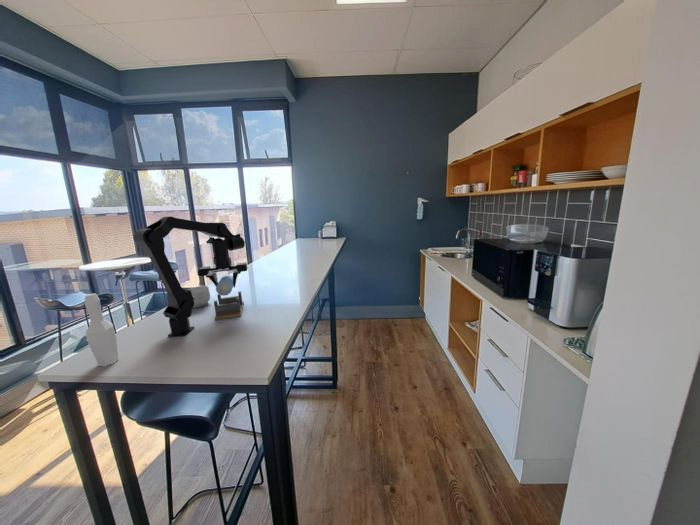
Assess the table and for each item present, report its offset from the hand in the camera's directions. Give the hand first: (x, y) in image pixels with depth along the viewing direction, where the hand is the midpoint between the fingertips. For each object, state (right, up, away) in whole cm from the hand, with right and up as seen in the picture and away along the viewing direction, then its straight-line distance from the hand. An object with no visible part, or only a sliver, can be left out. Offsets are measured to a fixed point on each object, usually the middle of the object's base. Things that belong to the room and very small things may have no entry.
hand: (226, 288), depth 117 cm
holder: (0, -10, +2) cm, 11 cm away
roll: (0, +2, 0) cm, 2 cm away
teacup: (-19, -9, +14) cm, 25 cm away
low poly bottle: (-21, -20, -33) cm, 44 cm away
